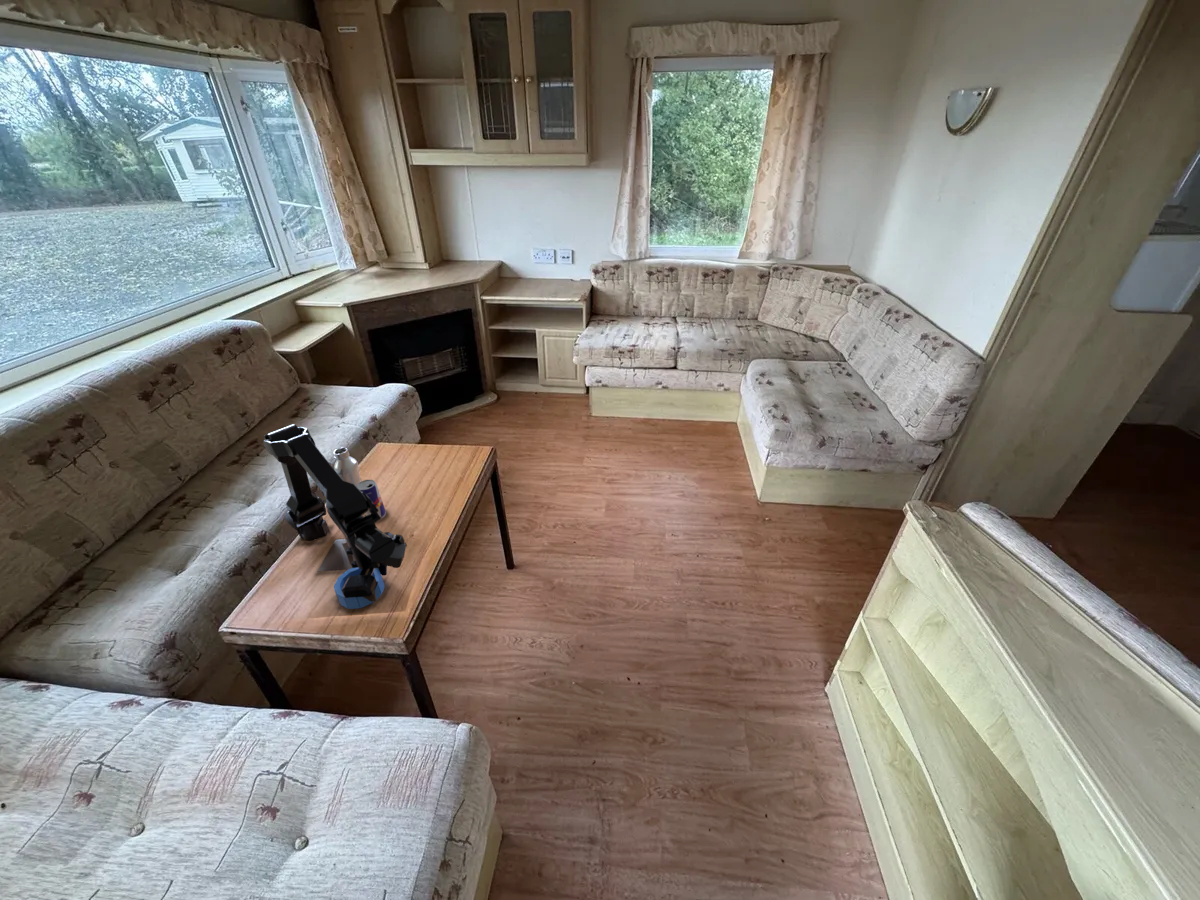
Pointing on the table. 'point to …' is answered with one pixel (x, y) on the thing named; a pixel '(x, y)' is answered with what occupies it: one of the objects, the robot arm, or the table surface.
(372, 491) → the energy drink
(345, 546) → the tape stand
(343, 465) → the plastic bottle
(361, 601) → the tape roll
